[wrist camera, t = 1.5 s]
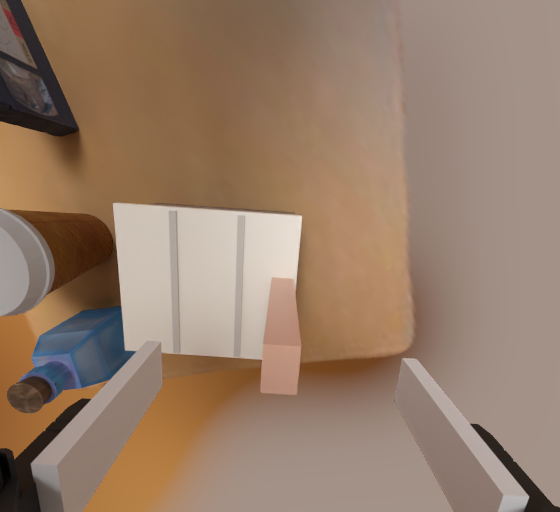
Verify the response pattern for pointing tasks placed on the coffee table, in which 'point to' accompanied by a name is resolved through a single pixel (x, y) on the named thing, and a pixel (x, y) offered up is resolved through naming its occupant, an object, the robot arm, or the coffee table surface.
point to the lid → (212, 285)
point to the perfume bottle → (72, 358)
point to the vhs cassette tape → (29, 77)
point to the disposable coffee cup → (45, 254)
